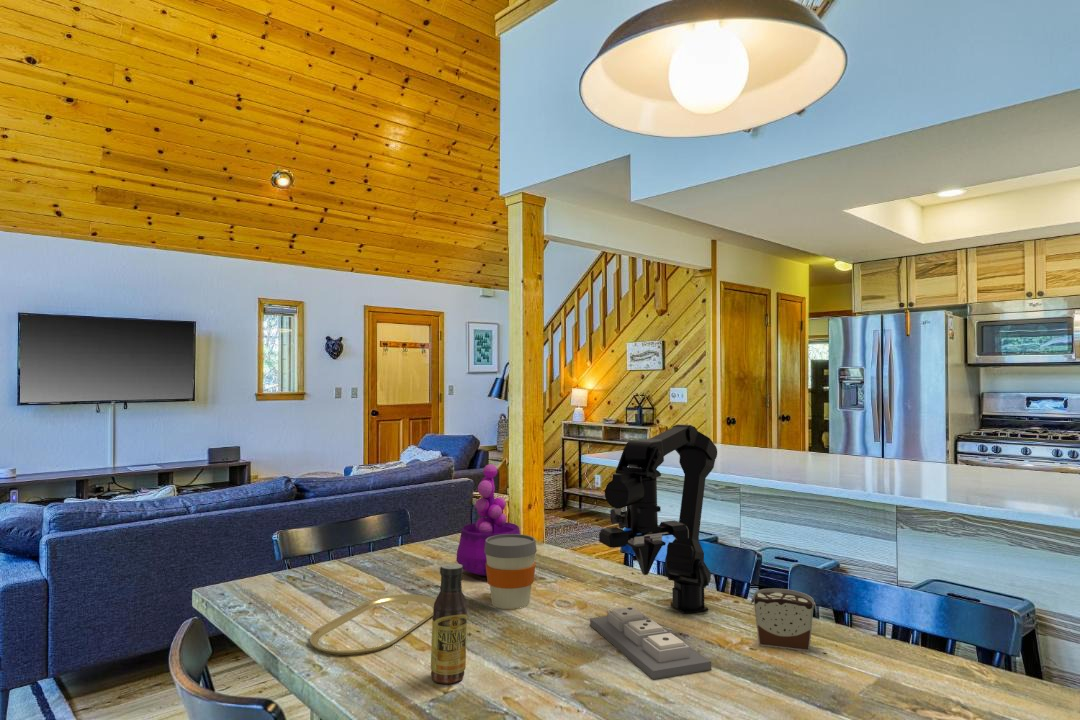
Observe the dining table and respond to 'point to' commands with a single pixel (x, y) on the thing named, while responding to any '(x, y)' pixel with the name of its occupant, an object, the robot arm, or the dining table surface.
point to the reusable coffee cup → (510, 569)
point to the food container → (783, 618)
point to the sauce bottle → (449, 627)
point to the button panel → (649, 649)
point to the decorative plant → (483, 526)
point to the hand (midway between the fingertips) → (645, 574)
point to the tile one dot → (665, 641)
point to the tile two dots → (627, 613)
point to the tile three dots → (645, 626)
